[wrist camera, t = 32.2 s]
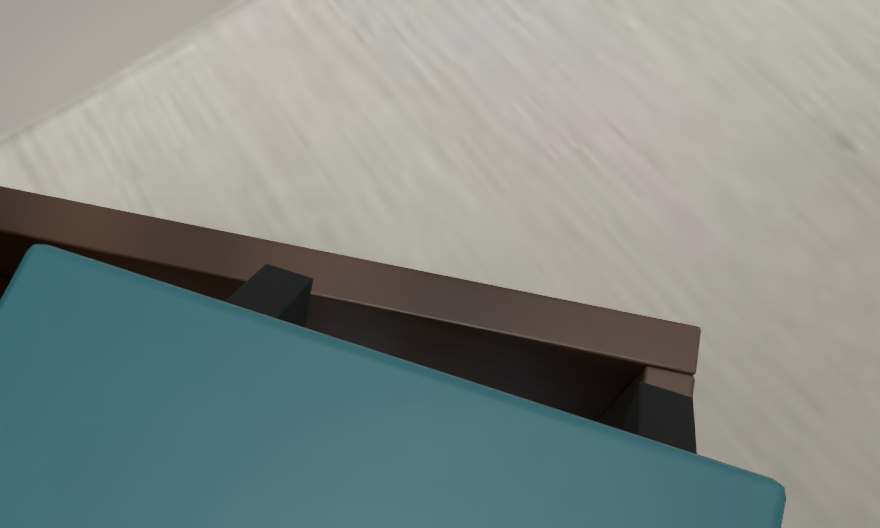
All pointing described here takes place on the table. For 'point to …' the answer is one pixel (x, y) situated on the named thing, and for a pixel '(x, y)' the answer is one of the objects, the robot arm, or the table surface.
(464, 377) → the chest
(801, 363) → the table surface
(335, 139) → the table surface
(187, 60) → the table surface
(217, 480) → the block
